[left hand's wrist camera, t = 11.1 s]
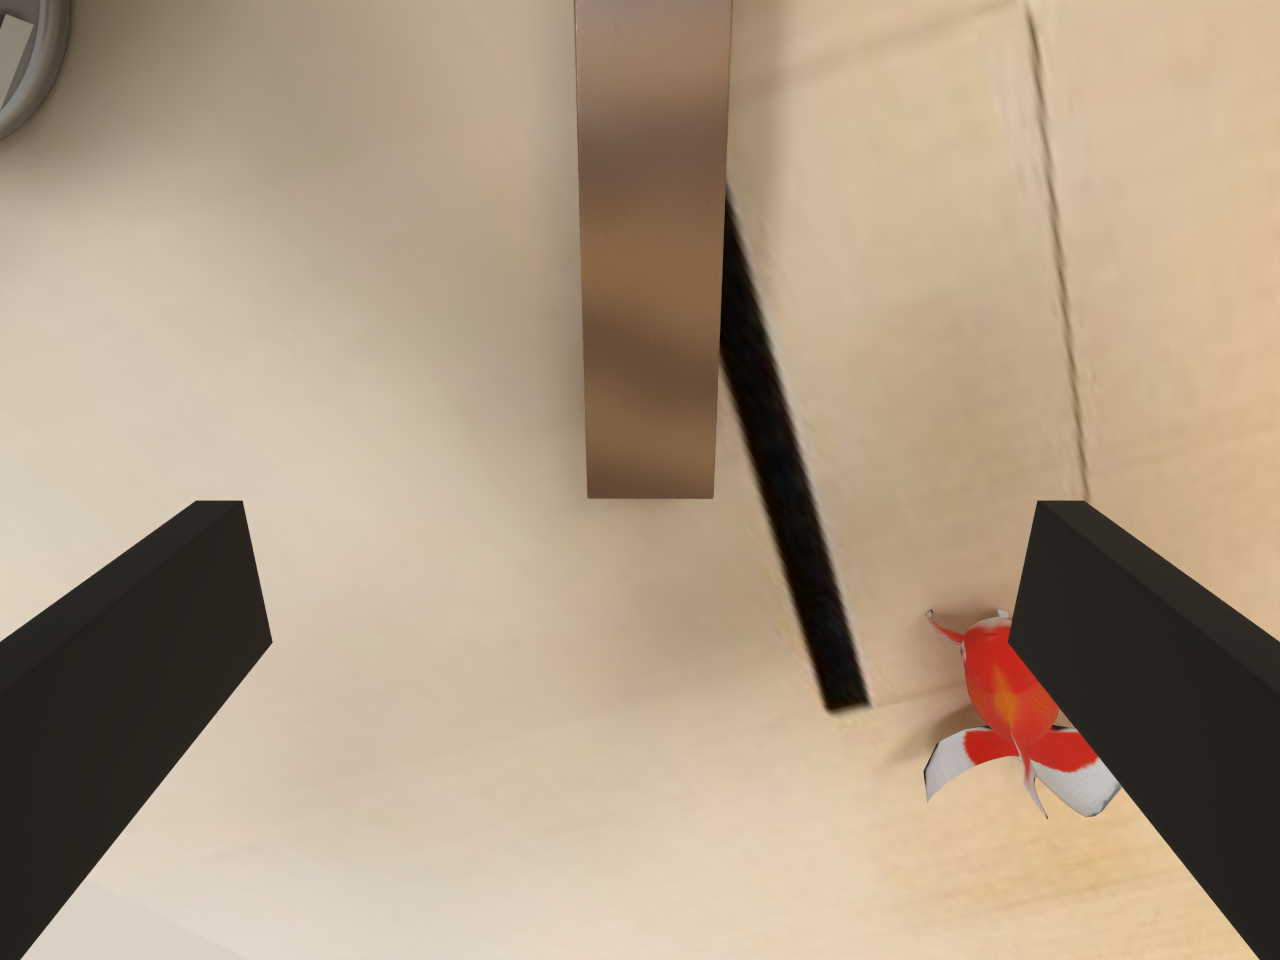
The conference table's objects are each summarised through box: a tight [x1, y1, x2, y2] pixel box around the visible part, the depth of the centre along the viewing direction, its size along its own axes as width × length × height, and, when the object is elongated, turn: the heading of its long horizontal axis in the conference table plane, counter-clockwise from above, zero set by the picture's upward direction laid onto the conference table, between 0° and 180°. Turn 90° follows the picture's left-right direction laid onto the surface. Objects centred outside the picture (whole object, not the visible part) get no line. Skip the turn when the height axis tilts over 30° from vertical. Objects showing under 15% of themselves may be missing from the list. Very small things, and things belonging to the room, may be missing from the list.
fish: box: [924, 610, 1122, 819], centre depth 38 cm, size 11×16×10 cm
